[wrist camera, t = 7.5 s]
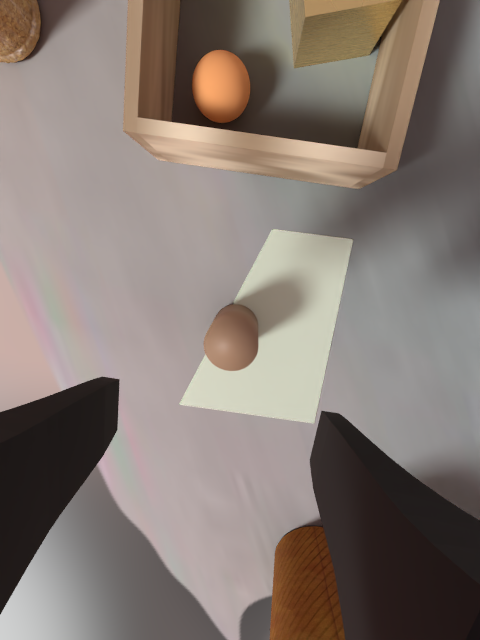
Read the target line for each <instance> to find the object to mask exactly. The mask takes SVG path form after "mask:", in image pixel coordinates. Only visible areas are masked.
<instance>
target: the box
mask: <svg viewBox="0 0 480 640" xmlns="http://www.w3.org/2000/svg"><path fill="white" fill-rule="evenodd" d="M180 1H181V0H128V17H127V43H126V70H125V96H124V123H123V131H124V132H125V133H126V134H128V135H129V136H130V137H131V138H133V139H134V140H135V141H136V142H137V143H139V144H140V145H141V146H142V147H143V148H145V149H146V150H147V151H148V152H149V153H151V154H152V155H153V156H154V157H156V158H157V159H158V160H161V161H168V162H175V163H182V164H189V165H196V166H203V167H210V168H217V169H223V170H230V171H237V172H244V173H251V174H258V175H265V176H272V177H279V178H286V179H293V180H299V181H306V182H313V183H320V184H327V185H334V186H341V187H348V188H355V189H360V188H362V187H364V186H366V185H368V184H370V183H372V182H374V181H376V180H378V179H380V178H382V177H384V176H386V175H388V174H390V173H392V172H394V171H396V170H397V168H398V164H399V160H400V156H401V152H402V148H403V144H404V140H405V136H406V132H407V128H408V124H409V120H410V116H411V112H412V108H413V104H414V100H415V96H416V92H417V89H418V85H419V81H420V77H421V73H422V69H423V65H424V61H425V57H426V53H427V49H428V45H429V41H430V37H431V33H432V29H433V25H434V21H435V17H436V13H437V9H438V6H439V2H440V0H402V2H401V3H400V5H399V7H398V8H397V10H396V12H395V13H394V15H393V17H392V18H391V20H390V21H389V23H388V25H387V26H386V28H385V30H384V31H383V34H382V38H381V43H380V47H379V52H378V56H377V61H376V66H375V70H374V75H373V79H372V84H371V88H370V93H369V98H368V102H367V107H366V111H365V116H364V121H363V125H362V130H361V134H360V139H359V143H358V148H357V149H356V148H349V147H342V146H335V145H328V144H321V143H314V142H307V141H300V140H293V139H286V138H279V137H272V136H265V135H258V134H251V133H244V132H237V131H230V130H223V129H216V128H209V127H202V126H195V125H188V124H181V123H174V122H172V109H173V96H174V82H175V69H176V55H177V42H178V28H179V15H180Z"/></svg>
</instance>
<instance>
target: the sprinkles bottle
mask: <svg viewBox="0 0 480 640" xmlns="http://www.w3.org/2000/svg"><path fill="white" fill-rule="evenodd" d="M40 27H41V18H40V12H39V6H38V3H37V0H0V62H7V63H10V62H17V61H20V60H23V59H24V58H25V57H27V56H28V55H29V54H30V53H31V52H32V51H33V49H34V48H35V46H36V43H37V41H38V39H39V36H40Z"/></svg>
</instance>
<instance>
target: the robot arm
mask: <svg viewBox="0 0 480 640" xmlns="http://www.w3.org/2000/svg"><path fill="white" fill-rule="evenodd" d="M118 401H119V379H114V378H107V377H100V378H96V379H93V380H90V381H87V382H85V383H82V384H79V385H77V386H74V387H71V388H69V389H66V390H63V391H61V392H58V393H55V394H53V395H50V396H47V397H45V398H42V399H39V400H36V401H33V402H30V403H27V404H25V405H21V406H19V407H16V408H13V409H9V410H6V411H3V412H0V614H1V612H2V610H3V609H4V607H5V605H6V603H7V602H8V600H9V598H10V596H11V595H12V593H13V591H14V589H15V588H16V586H17V584H18V583H19V581H20V579H21V577H22V576H23V574H24V572H25V570H26V568H27V567H28V565H29V563H30V562H31V560H32V559H33V557H34V555H35V554H36V552H37V550H38V549H39V547H40V545H41V544H42V542H43V540H44V539H45V537H46V535H47V534H48V532H49V530H50V529H51V527H52V526H53V524H54V523H55V521H56V520H57V519H58V517H59V515H60V514H61V513H62V511H63V510H64V509H65V507H66V506H67V505H68V503H69V502H70V501H71V499H72V498H73V496H74V495H75V493H76V492H77V491H78V490H79V488H80V486H81V485H82V484H83V483H84V481H85V480H86V479H87V477H88V476H89V475H90V473H91V472H92V470H93V469H94V468H95V466H96V465H97V463H98V462H99V461H100V459H101V458H102V456H103V455H104V453H105V451H106V450H107V448H108V446H109V444H110V442H111V441H112V439H113V437H114V435H115V433H116V431H117V424H118ZM310 466H311V475H312V482H313V489H314V493H315V497H316V501H317V505H318V509H319V513H320V517H321V521H322V525H323V529H324V533H325V536H326V540H327V544H328V548H329V552H330V556H331V560H332V564H333V569H334V573H335V578H336V584H337V590H338V596H339V602H340V608H341V614H342V621H343V627H344V634H345V640H480V521H479V520H478V519H476V518H475V517H473V516H471V515H470V514H468V513H466V512H465V511H463V510H461V509H460V508H458V507H457V506H455V505H454V504H452V503H451V502H449V501H447V500H446V499H444V498H443V497H442V496H440V495H439V494H437V493H436V492H434V491H433V490H432V489H430V488H429V487H427V486H426V485H424V484H423V483H422V482H420V481H419V480H418V479H416V478H415V477H413V476H412V475H411V474H410V473H408V472H407V471H406V470H405V469H403V468H402V467H401V466H400V465H398V464H397V463H396V462H395V461H393V460H392V459H391V458H390V457H388V456H387V455H386V454H385V453H384V452H383V451H381V450H380V449H379V448H378V447H377V446H376V445H375V444H373V443H372V442H371V441H370V440H369V439H368V438H367V437H366V436H364V435H363V434H362V433H361V432H360V431H359V430H358V429H357V428H356V427H354V426H353V425H352V424H351V423H350V422H349V421H348V420H347V419H345V418H344V417H343V416H342V415H340V414H338V413H332V412H325V411H321V416H320V420H319V424H318V428H317V432H316V436H315V441H314V445H313V449H312V453H311V457H310Z"/></svg>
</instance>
